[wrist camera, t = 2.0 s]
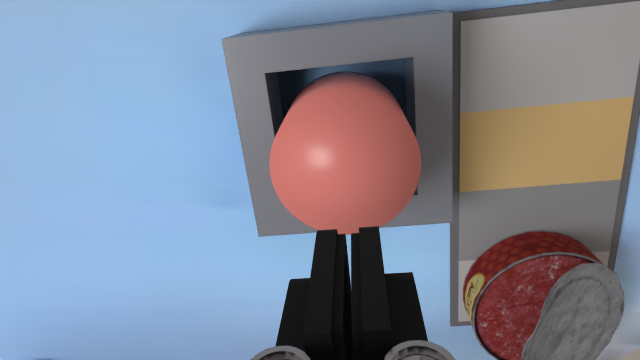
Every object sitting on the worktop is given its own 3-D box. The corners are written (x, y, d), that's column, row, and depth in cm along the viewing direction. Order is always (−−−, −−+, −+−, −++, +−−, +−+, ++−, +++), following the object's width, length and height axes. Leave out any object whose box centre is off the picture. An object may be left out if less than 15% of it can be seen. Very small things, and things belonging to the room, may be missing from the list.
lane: (604, 316, 33) (606, 319, 33) (450, 324, 34) (451, 327, 34) (657, -11, 25) (661, -11, 24) (450, 13, 26) (451, 13, 25)
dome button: (406, 181, 27) (423, 229, 21) (294, 190, 27) (281, 239, 22) (402, 65, 24) (419, 84, 19) (277, 78, 25) (258, 101, 19)
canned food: (495, 202, 35) (591, 200, 25) (587, 277, 36) (715, 304, 26) (414, 320, 33) (483, 368, 23) (513, 395, 34) (619, 473, 24)
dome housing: (439, 195, 30) (452, 222, 27) (269, 208, 31) (258, 236, 28) (437, 10, 26) (452, 11, 22) (238, 33, 27) (221, 39, 23)
